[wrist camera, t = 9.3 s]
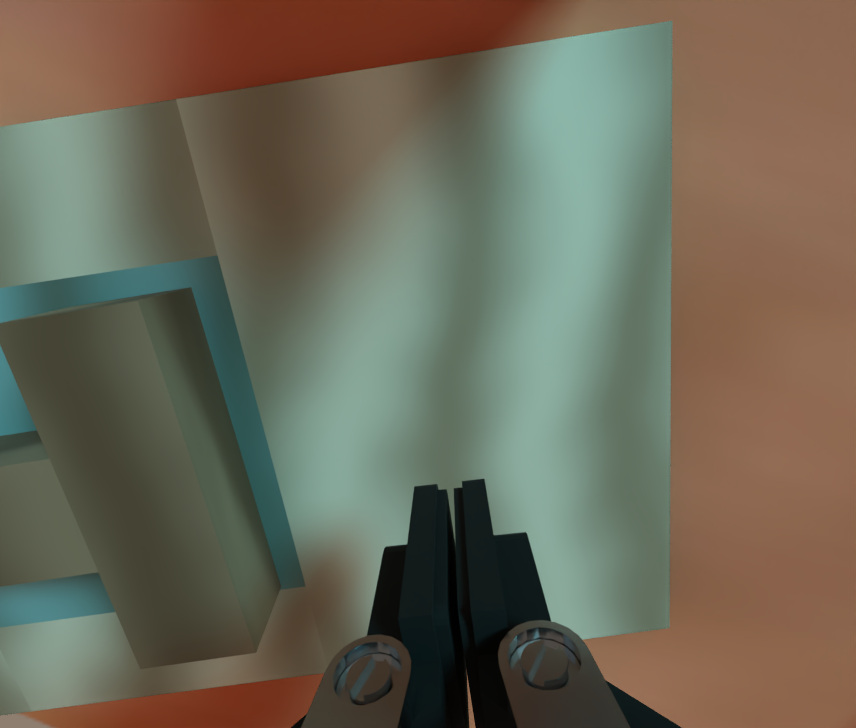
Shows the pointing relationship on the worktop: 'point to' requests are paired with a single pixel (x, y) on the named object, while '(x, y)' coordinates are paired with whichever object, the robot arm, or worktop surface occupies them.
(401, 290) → the board
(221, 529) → the t block
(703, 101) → the worktop surface
